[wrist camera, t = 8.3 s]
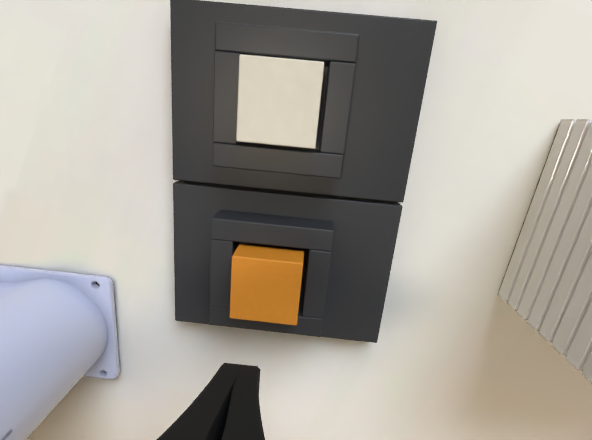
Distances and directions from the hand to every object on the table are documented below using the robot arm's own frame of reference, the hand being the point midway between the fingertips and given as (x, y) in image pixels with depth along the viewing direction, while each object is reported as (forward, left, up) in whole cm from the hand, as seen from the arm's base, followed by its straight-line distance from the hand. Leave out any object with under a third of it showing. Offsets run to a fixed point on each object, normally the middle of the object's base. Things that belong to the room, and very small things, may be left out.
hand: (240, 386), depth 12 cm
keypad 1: (+1, +1, -10) cm, 10 cm away
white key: (0, +10, -7) cm, 12 cm away
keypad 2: (+1, +10, -10) cm, 14 cm away
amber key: (0, +1, -7) cm, 7 cm away
